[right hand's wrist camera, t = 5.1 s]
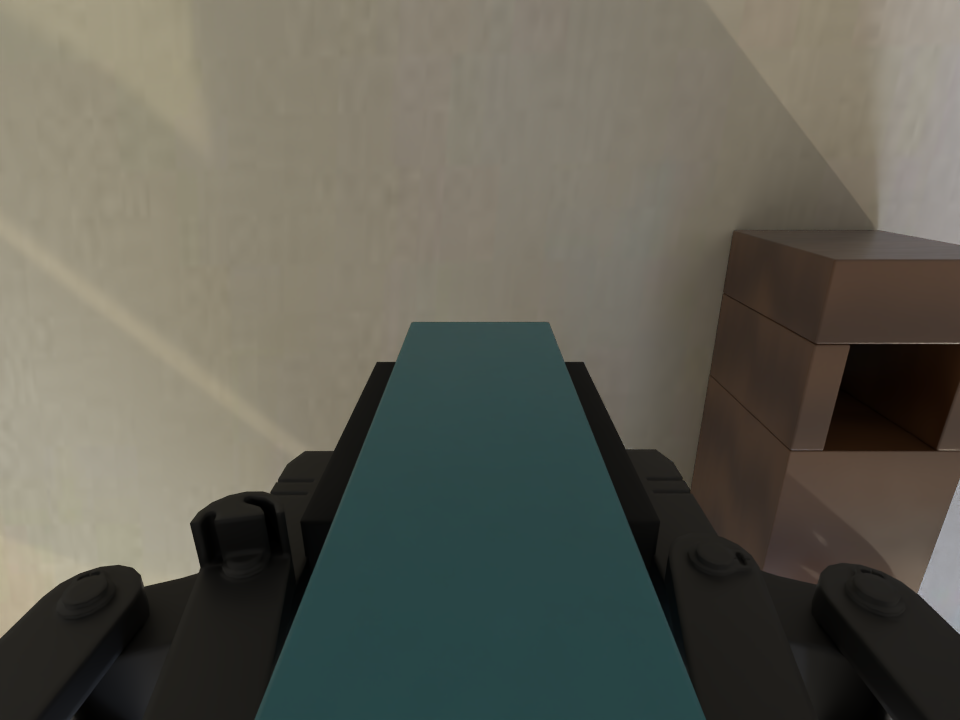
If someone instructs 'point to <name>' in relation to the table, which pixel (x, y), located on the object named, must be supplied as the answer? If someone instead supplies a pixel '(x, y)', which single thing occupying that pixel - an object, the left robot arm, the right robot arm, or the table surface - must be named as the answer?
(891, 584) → the right robot arm
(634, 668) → the peg
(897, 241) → the hole block
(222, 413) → the table surface
